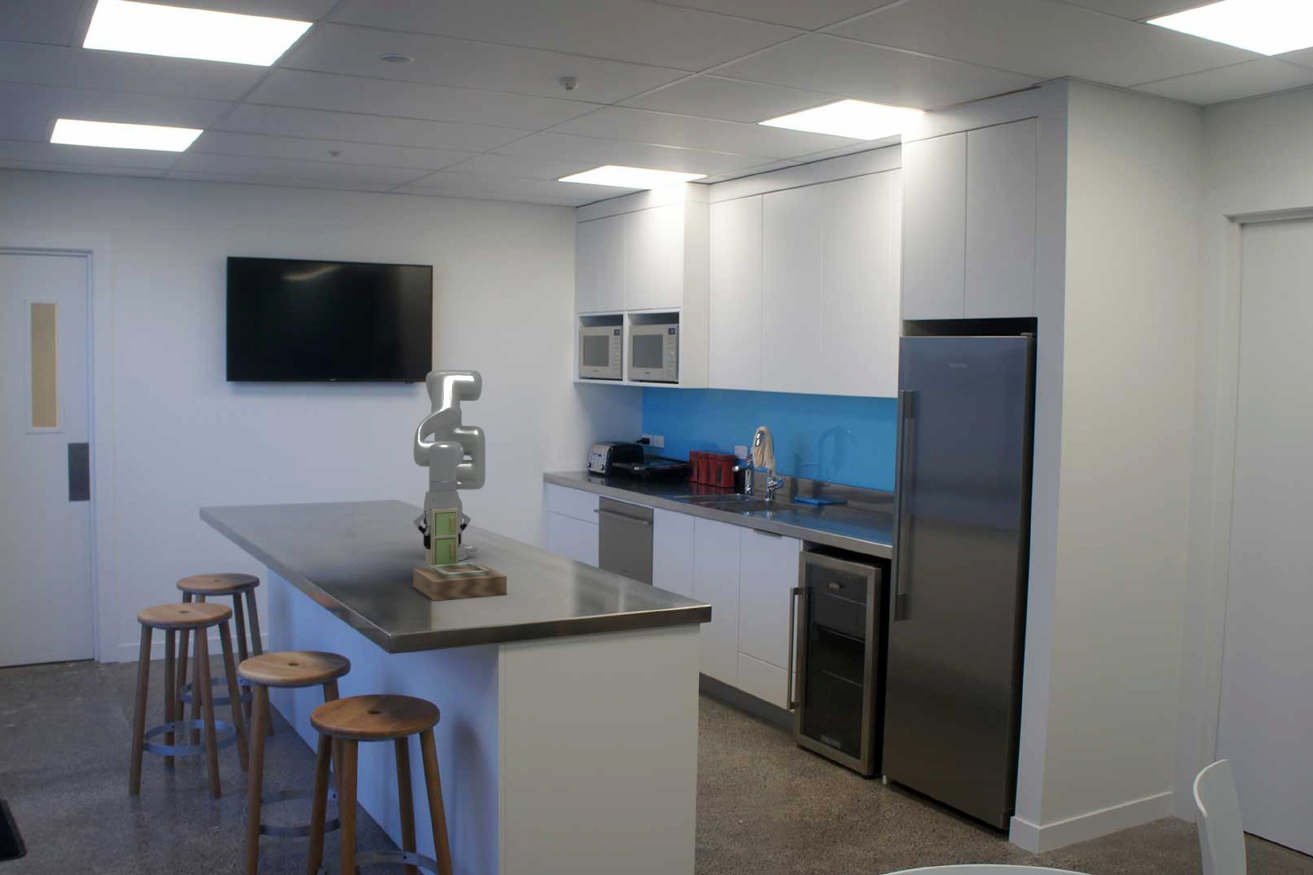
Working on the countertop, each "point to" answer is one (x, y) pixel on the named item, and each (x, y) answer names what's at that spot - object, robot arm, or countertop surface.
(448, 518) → the toy refrigerator
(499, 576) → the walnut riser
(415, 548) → the countertop surface
